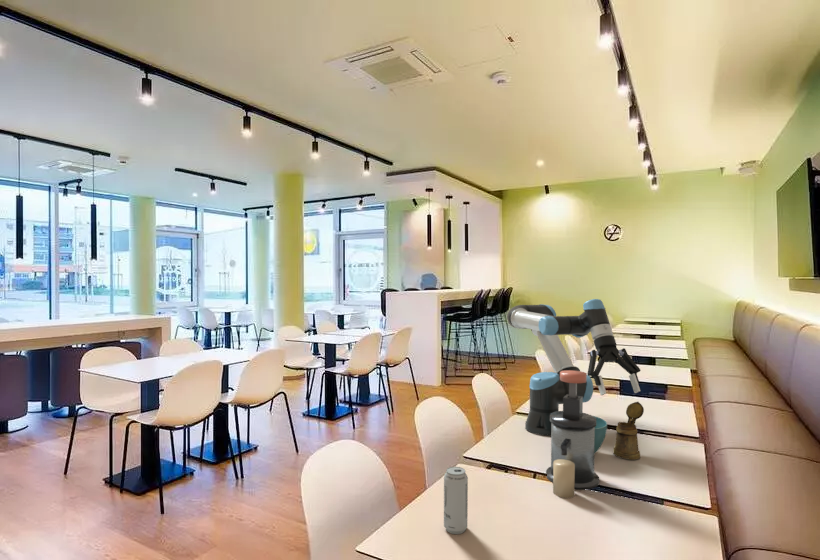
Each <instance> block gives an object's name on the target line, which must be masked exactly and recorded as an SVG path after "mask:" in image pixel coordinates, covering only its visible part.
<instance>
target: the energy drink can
mask: <svg viewBox="0 0 820 560" xmlns="http://www.w3.org/2000/svg"><path fill="white" fill-rule="evenodd" d="M468 481H469V478H468V475H467V473H466V470H465V468H463V467H460V466H449V467H447V468H446V472H445V474H444V475H443V527H444V528H445V530H446V532H448V533H450V534H453V535H460V534H461V535H462V534H463V533H465V532H466V529H467V528H468V511H469V510H468V509H469V508H468V507H469V506H468V497H469V496H468V490H469V487H468V486H469V485H468V484H469V482H468Z"/></svg>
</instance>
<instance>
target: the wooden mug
mask: <svg viewBox="0 0 820 560" xmlns="http://www.w3.org/2000/svg"><path fill="white" fill-rule="evenodd" d="M644 411H645V409H644V407H643V404H642V403H640V402H639V401H634V402H632V403H630V404H628V405H627V407H626V411H625V413H626V417H627V418H628V419H627V421H626V422H625V421H619V422H617V425H616V430H615V431H616V434H615V442H614V447H613V451H612V452H613V455H614V456H616V457H618V458H620V459H625V460H629V461H630V460H631V461H632V460H633V461H634V460H635V461H636V460H639V459H640V458H641V453H640V450H639V448H640V447H639V441H638V429H637V425H636V420H638V419H640V418H641V417H642V416H643V415H644Z"/></svg>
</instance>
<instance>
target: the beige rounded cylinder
mask: <svg viewBox="0 0 820 560" xmlns="http://www.w3.org/2000/svg"><path fill="white" fill-rule="evenodd" d="M552 484H553V485H552V486H553V487H552V493H553V494H554V495H555V497H559V498H563V499H571V498H574V497H575V489H574V484H575V464H574V463H573V462H571V461H569V460H564V459H558V460H555V461H554V462H553V483H552Z"/></svg>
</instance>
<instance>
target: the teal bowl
mask: <svg viewBox="0 0 820 560" xmlns="http://www.w3.org/2000/svg"><path fill="white" fill-rule="evenodd" d="M593 416H594V417H595V418H596V426H595V437H594V455H595V454H596V453H597V452H598V451H599V449H600V448H601V447H602V445H603V443H604V440H605V438H606V435H607V430H608V422H607V421H606V420H605V419H603V418H600V417H598V416H596V415H593Z"/></svg>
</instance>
